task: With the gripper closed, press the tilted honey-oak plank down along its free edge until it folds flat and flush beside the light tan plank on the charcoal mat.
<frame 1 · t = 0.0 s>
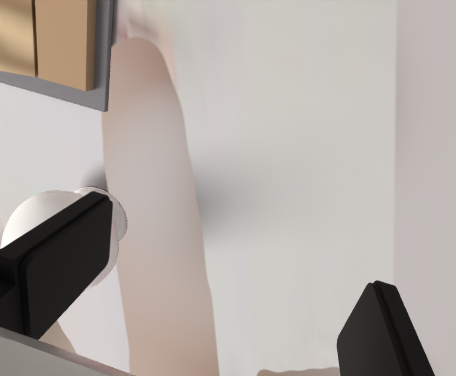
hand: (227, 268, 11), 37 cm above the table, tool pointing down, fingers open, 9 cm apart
floor board: (44, 5, 45), on the table
decorative vase: (98, 216, 59), on the table
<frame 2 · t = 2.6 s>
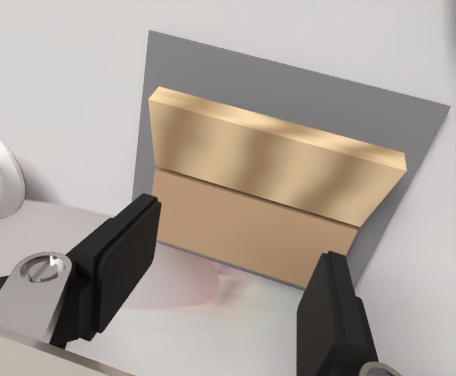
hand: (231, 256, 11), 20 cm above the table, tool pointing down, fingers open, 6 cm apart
floor board: (259, 178, 31), on the table
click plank: (264, 160, 26), point 4 cm above the table, hinge at 25.0°
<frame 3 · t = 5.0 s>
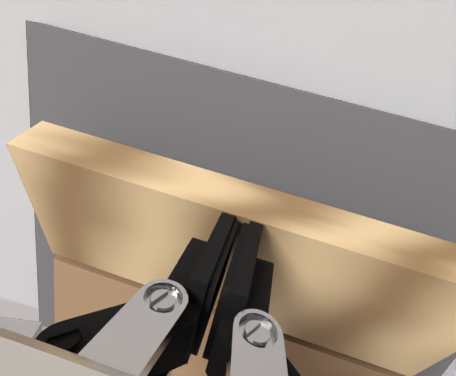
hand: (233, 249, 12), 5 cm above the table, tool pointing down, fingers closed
floor board: (233, 268, 19), on the table
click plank: (235, 255, 14), point 3 cm above the table, hinge at 18.2°, touching gripper
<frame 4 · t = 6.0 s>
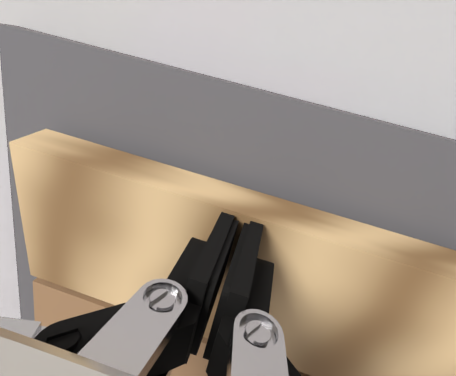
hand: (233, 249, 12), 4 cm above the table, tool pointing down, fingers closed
floor board: (227, 289, 17), on the table
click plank: (232, 270, 14), point 2 cm above the table, hinge at 5.3°, touching gripper
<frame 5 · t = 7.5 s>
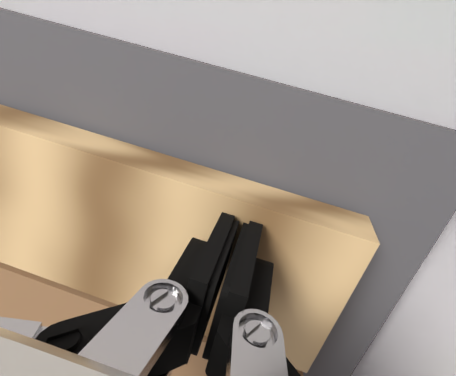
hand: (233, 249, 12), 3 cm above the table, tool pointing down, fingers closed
floor board: (138, 256, 17), on the table
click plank: (123, 228, 14), point 2 cm above the table, hinge at 1.9°, touching gripper
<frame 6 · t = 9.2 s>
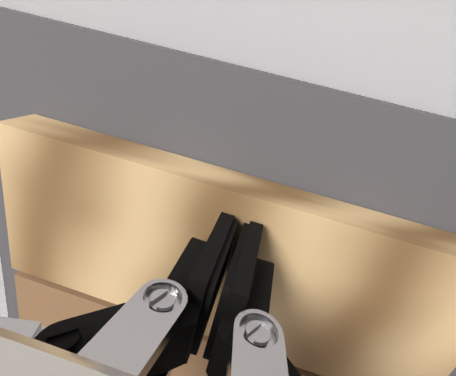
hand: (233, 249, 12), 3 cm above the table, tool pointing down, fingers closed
floor board: (218, 281, 17), on the table
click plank: (222, 257, 13), point 2 cm above the table, hinge at -0.1°
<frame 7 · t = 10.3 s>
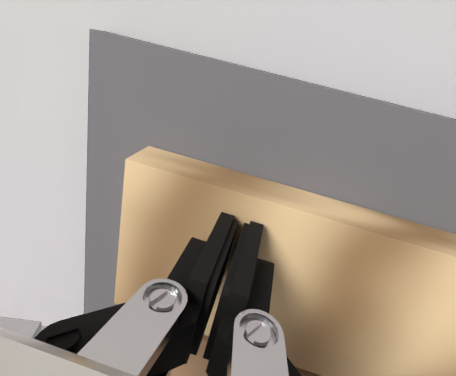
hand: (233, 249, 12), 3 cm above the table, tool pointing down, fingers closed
floor board: (318, 314, 16), on the table
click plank: (347, 297, 13), point 2 cm above the table, hinge at -0.1°, touching gripper
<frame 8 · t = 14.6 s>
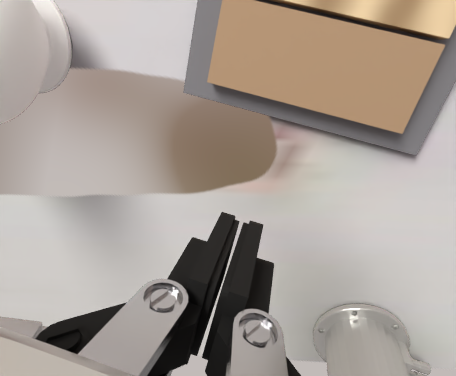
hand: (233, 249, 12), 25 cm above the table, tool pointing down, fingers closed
floor board: (331, 10, 29), on the table
decorative vase: (26, 39, 37), on the table
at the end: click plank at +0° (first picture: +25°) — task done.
